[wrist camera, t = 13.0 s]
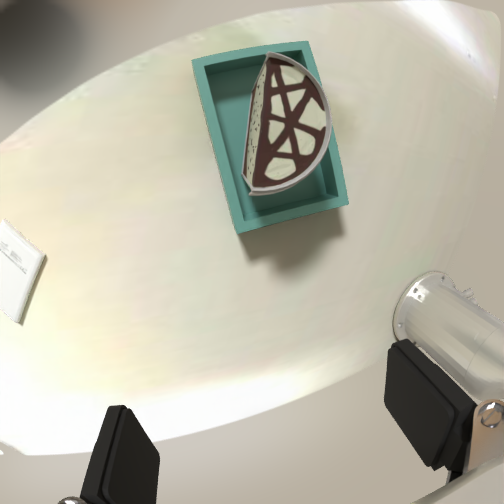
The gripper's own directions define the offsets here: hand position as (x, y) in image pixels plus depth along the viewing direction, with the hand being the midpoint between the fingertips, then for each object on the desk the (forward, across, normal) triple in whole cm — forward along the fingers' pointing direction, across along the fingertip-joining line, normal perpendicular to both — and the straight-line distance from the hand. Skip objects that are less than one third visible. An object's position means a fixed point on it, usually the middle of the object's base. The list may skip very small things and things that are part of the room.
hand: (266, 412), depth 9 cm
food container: (+25, -7, -10) cm, 28 cm away
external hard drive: (+27, +30, -3) cm, 41 cm away
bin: (+26, -6, -11) cm, 29 cm away
